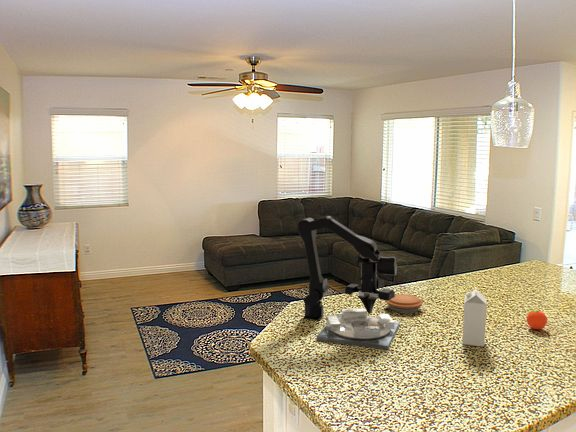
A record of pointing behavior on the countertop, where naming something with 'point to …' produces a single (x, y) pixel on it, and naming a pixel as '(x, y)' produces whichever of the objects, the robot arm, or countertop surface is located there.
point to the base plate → (371, 343)
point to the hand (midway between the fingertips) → (369, 313)
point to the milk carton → (474, 319)
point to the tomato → (536, 319)
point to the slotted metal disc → (360, 324)
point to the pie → (404, 303)
